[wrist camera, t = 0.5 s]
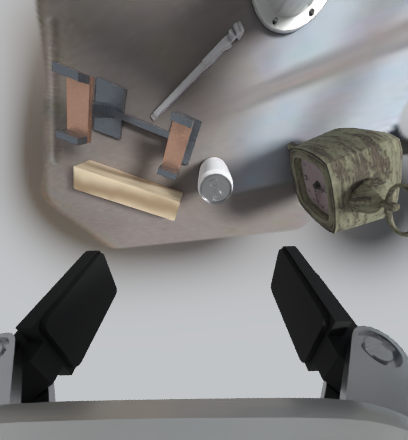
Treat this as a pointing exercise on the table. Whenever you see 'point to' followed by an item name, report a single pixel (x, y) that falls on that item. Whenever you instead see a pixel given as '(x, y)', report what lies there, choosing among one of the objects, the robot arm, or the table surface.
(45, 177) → the table surface
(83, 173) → the rail
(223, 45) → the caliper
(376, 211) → the tabletop clock
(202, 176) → the can
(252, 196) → the table surface
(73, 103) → the grey support stand
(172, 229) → the table surface
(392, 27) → the table surface
